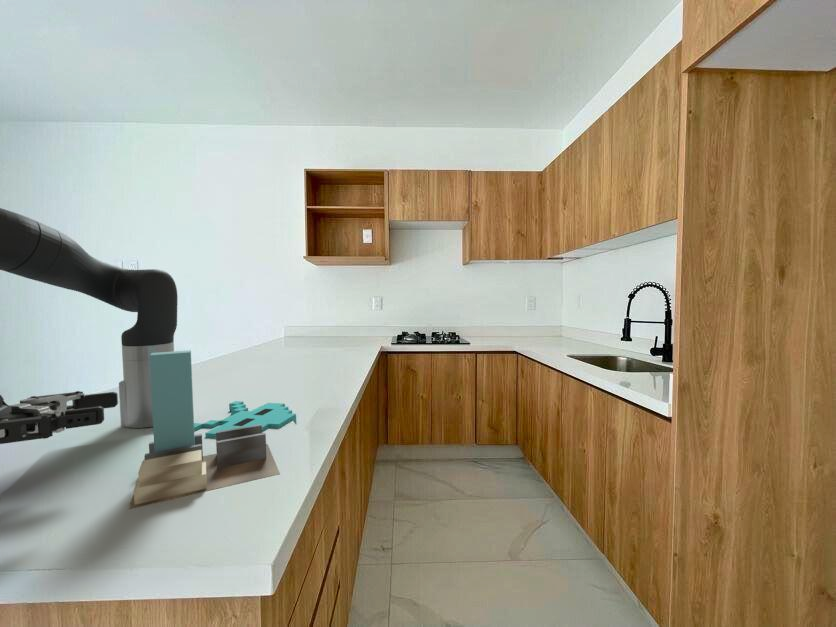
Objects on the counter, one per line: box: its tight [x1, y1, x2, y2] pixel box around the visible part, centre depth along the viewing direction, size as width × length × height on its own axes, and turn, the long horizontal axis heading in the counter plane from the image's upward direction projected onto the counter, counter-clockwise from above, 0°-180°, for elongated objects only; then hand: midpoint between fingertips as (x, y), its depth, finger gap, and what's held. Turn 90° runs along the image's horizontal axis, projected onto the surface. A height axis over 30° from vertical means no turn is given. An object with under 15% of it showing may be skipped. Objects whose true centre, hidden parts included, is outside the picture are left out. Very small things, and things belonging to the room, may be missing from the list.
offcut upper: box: [137, 450, 202, 487], centre depth 52 cm, size 7×4×2 cm, turn 119°
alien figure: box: [194, 400, 297, 439], centre depth 80 cm, size 20×2×20 cm
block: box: [150, 349, 195, 452], centre depth 57 cm, size 5×2×18 cm, turn 120°
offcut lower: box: [133, 462, 207, 505], centre depth 52 cm, size 8×4×2 cm, turn 119°
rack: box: [128, 424, 281, 510], centre depth 57 cm, size 18×13×5 cm
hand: (110, 406), depth 53 cm, fingers open, 8 cm apart
